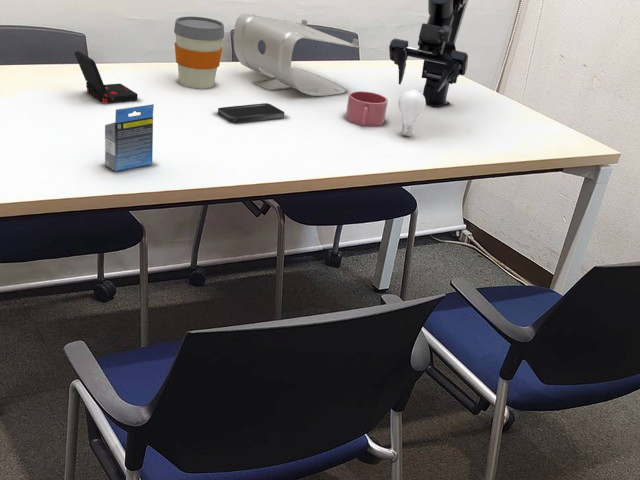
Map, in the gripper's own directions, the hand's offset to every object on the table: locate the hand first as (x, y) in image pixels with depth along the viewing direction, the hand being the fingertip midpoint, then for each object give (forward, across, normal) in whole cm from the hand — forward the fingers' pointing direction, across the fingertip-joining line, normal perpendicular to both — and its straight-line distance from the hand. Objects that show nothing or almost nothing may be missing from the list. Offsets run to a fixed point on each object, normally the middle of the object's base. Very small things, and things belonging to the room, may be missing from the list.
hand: (418, 87), depth 208 cm
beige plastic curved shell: (-6, -37, +21) cm, 43 cm away
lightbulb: (+10, 0, +5) cm, 12 cm away
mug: (+8, -12, +8) cm, 16 cm away
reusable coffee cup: (+7, -57, +8) cm, 58 cm away
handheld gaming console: (+26, -69, -10) cm, 74 cm away
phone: (+18, -36, -3) cm, 40 cm away
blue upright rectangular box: (+51, -44, -35) cm, 76 cm away
